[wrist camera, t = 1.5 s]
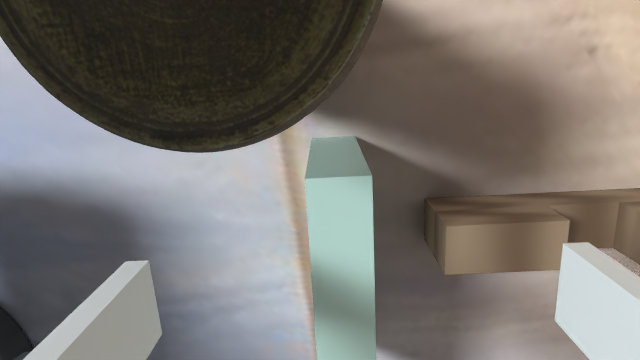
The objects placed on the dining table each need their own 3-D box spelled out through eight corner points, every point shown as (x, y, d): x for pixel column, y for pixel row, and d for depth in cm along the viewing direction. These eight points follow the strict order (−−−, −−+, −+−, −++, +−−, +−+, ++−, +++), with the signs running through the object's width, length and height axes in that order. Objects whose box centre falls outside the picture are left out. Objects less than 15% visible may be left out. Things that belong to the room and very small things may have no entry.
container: (376, 62, 25) (486, 50, 8) (248, 124, 26) (103, 232, 9) (313, -87, 23) (278, -539, 6) (177, -12, 24) (-188, -208, 7)
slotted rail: (424, 239, 28) (445, 274, 24) (425, 198, 28) (446, 226, 23) (689, 227, 28) (764, 260, 23) (697, 185, 27) (777, 210, 22)
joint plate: (361, 323, 30) (378, 442, 21) (323, 325, 30) (322, 444, 21) (354, 136, 27) (372, 175, 17) (312, 138, 27) (304, 178, 17)
